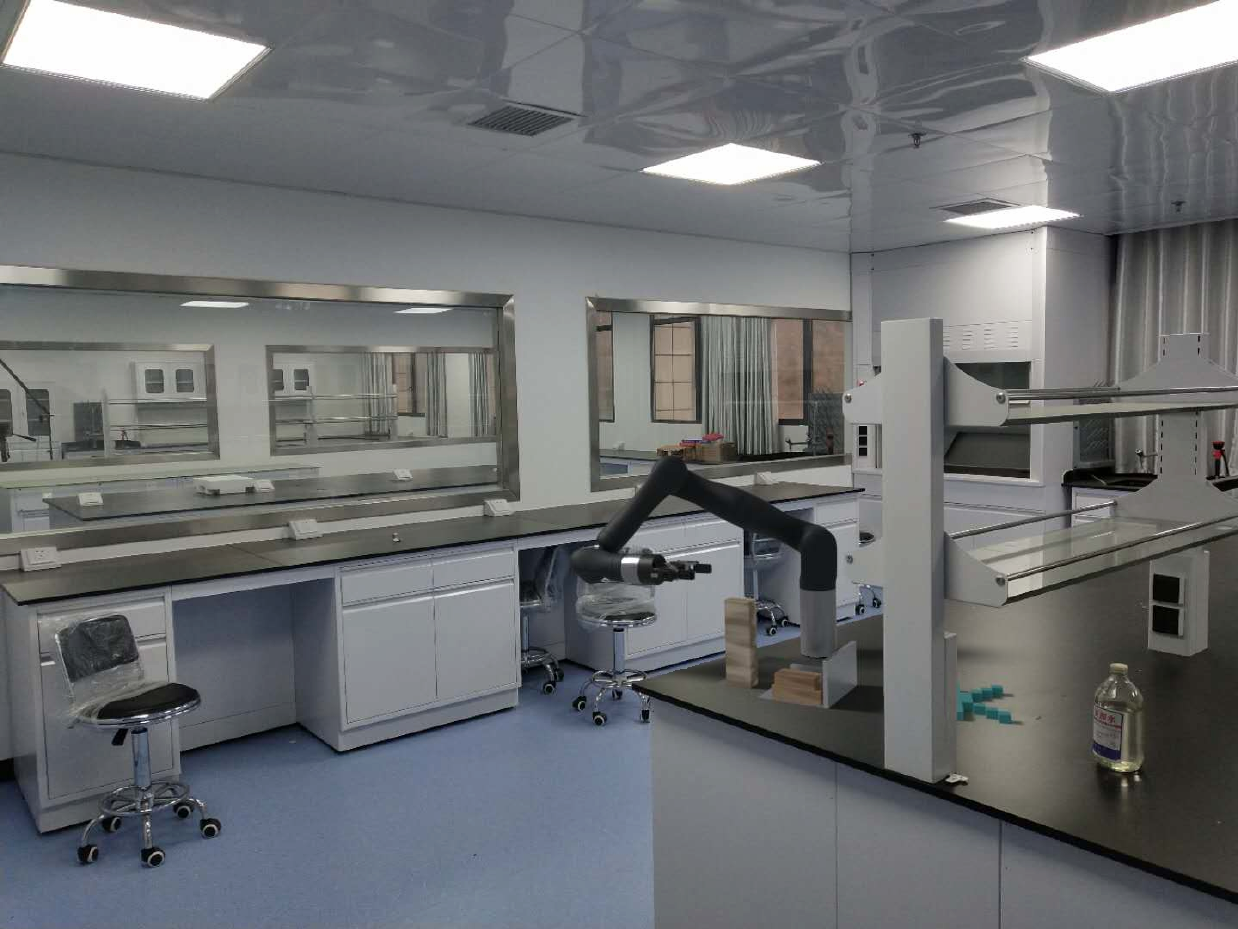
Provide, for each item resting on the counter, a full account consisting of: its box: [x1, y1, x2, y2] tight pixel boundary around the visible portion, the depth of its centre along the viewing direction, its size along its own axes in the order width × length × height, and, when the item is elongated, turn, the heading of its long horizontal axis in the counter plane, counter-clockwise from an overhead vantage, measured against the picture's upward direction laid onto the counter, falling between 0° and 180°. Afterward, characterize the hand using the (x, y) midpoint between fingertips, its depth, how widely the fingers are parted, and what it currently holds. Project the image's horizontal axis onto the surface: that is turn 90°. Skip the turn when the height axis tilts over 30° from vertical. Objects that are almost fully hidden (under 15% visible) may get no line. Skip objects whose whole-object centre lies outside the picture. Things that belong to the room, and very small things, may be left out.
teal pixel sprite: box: [956, 682, 1012, 725], centre depth 195 cm, size 20×2×20 cm
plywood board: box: [723, 596, 759, 690], centre depth 209 cm, size 4×6×20 cm, turn 57°
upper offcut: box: [773, 667, 822, 691], centre depth 199 cm, size 5×9×2 cm, turn 57°
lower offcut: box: [771, 682, 823, 704], centre depth 199 cm, size 5×11×2 cm, turn 57°
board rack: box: [757, 640, 858, 709], centre depth 202 cm, size 18×16×12 cm
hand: (702, 572), depth 215 cm, fingers open, 8 cm apart
